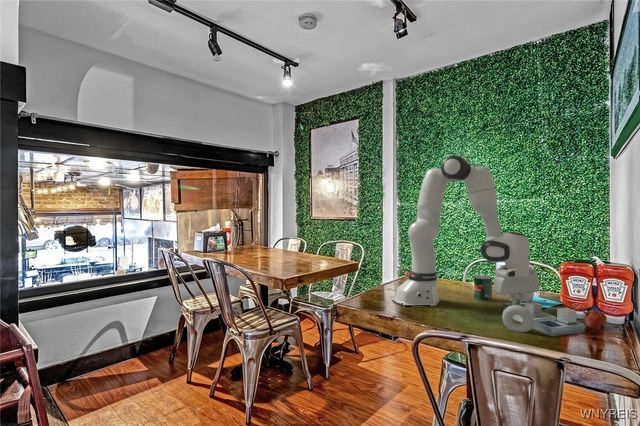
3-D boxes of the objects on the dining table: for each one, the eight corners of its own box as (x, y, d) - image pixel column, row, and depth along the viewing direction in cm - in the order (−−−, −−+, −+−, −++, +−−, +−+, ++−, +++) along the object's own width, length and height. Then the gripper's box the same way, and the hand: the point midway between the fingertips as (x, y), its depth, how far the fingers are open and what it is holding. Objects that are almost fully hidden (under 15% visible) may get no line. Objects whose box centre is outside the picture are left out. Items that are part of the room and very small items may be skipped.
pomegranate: (599, 332, 129) (574, 313, 132) (615, 320, 126) (589, 301, 129) (603, 341, 123) (576, 321, 126) (620, 328, 120) (592, 308, 123)
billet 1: (533, 323, 131) (533, 305, 131) (524, 320, 135) (524, 302, 135) (541, 322, 132) (542, 304, 132) (532, 319, 136) (533, 301, 136)
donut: (501, 331, 125) (501, 304, 125) (502, 328, 128) (502, 301, 127) (533, 337, 119) (533, 309, 119) (534, 334, 122) (534, 306, 121)
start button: (516, 312, 142) (516, 304, 141) (510, 309, 145) (510, 302, 145) (522, 311, 142) (522, 304, 142) (516, 309, 145) (516, 302, 145)
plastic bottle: (535, 303, 158) (536, 261, 158) (519, 303, 160) (519, 260, 159) (529, 300, 164) (530, 258, 164) (514, 299, 166) (514, 258, 165)
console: (516, 317, 139) (516, 308, 139) (503, 312, 146) (503, 303, 146) (530, 316, 141) (530, 306, 141) (516, 311, 148) (516, 301, 148)
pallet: (552, 338, 117) (552, 328, 117) (532, 330, 125) (532, 321, 125) (585, 334, 121) (585, 324, 121) (563, 326, 129) (564, 317, 129)
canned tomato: (471, 299, 167) (471, 276, 167) (478, 296, 172) (478, 274, 172) (487, 302, 161) (488, 279, 161) (494, 299, 166) (494, 277, 166)
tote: (529, 328, 128) (529, 320, 127) (511, 320, 136) (511, 312, 136) (556, 324, 131) (556, 316, 131) (536, 317, 139) (536, 310, 139)
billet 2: (567, 331, 122) (567, 311, 122) (556, 327, 126) (557, 308, 125) (576, 330, 123) (576, 310, 123) (565, 326, 127) (565, 307, 126)
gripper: (530, 268, 149) (530, 299, 149) (491, 270, 143) (491, 303, 144) (543, 270, 143) (542, 303, 143) (503, 273, 137) (502, 307, 138)
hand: (516, 303), depth 143 cm, fingers closed, pressing on start button
